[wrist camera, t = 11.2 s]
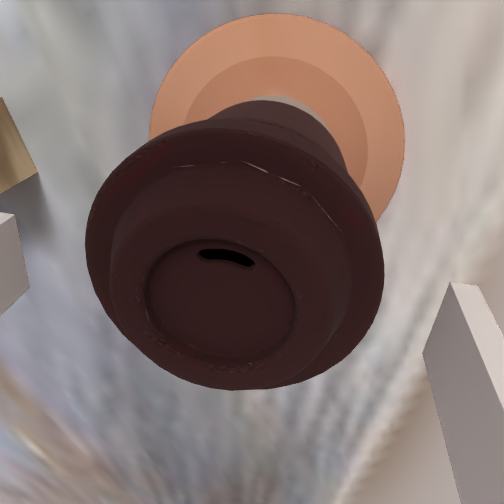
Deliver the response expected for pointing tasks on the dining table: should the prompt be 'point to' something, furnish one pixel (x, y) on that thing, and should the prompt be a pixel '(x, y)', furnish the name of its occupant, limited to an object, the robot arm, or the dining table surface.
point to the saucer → (294, 90)
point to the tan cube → (12, 153)
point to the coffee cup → (238, 248)
